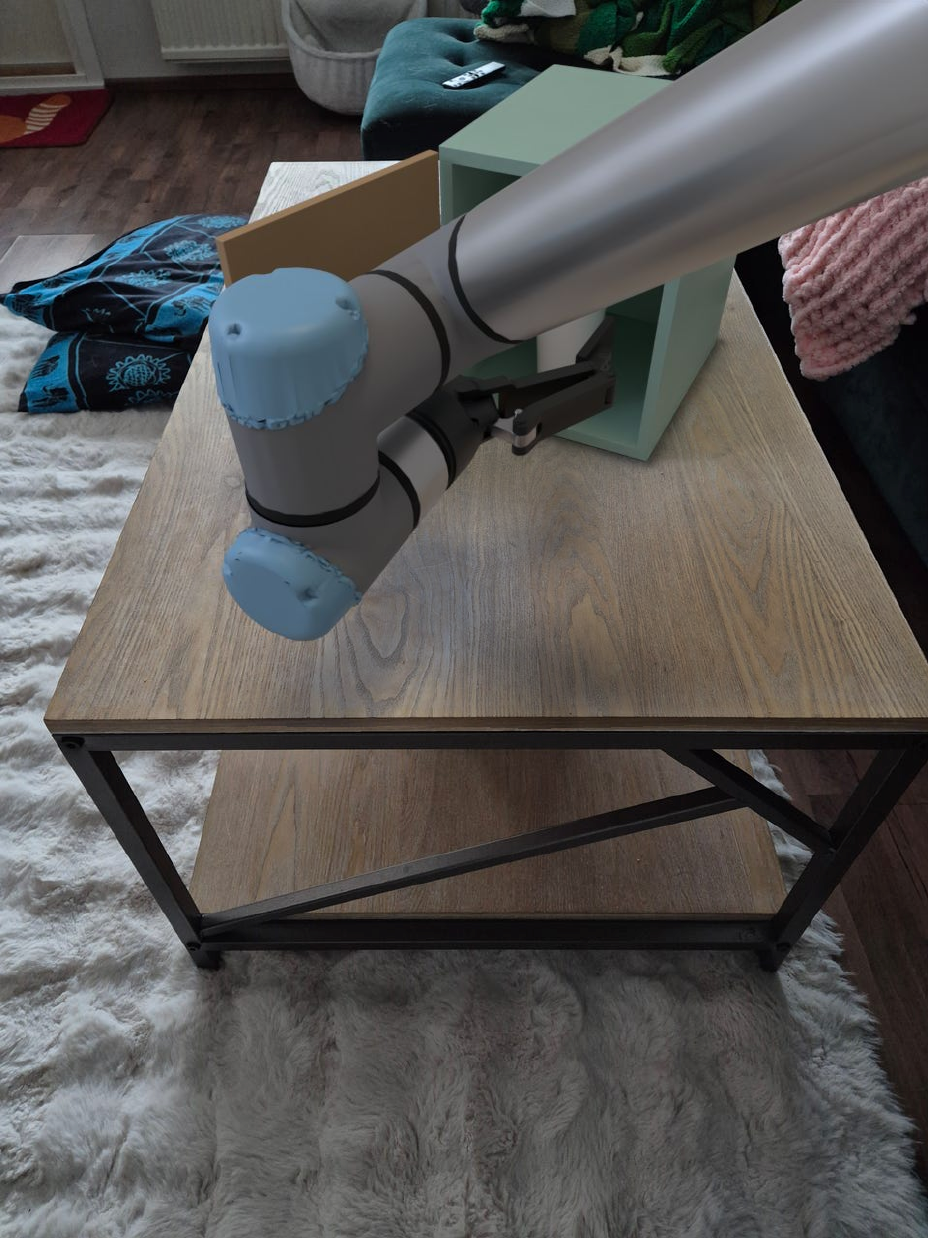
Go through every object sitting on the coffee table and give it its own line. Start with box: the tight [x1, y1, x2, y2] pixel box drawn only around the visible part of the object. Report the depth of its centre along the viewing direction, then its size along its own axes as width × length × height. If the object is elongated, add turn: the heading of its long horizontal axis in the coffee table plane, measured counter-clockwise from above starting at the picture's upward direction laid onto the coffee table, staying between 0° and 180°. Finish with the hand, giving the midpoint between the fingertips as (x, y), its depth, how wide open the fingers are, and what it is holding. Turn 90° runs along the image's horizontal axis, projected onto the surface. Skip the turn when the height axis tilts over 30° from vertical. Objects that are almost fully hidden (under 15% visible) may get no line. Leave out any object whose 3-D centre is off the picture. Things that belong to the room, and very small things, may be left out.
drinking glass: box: [536, 307, 607, 373], centre depth 80 cm, size 7×7×15 cm
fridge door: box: [209, 149, 441, 309], centre depth 73 cm, size 6×21×24 cm, turn 138°
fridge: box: [438, 64, 738, 462], centre depth 82 cm, size 24×21×24 cm
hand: (531, 313), depth 70 cm, fingers open, 13 cm apart
